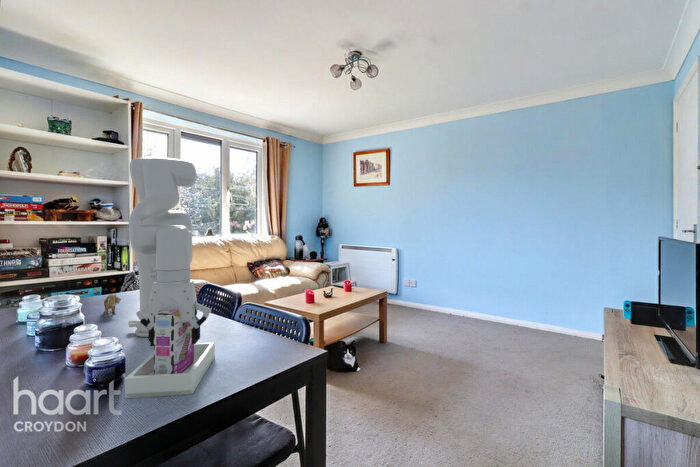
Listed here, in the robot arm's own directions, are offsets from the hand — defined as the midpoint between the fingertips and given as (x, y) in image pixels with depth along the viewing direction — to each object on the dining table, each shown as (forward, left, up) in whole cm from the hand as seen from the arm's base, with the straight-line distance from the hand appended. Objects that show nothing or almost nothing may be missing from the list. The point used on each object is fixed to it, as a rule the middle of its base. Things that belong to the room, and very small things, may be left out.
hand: (175, 343), depth 85 cm
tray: (0, 0, -8) cm, 8 cm away
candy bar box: (0, 0, -7) cm, 8 cm away
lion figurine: (-47, +62, -9) cm, 78 cm away
